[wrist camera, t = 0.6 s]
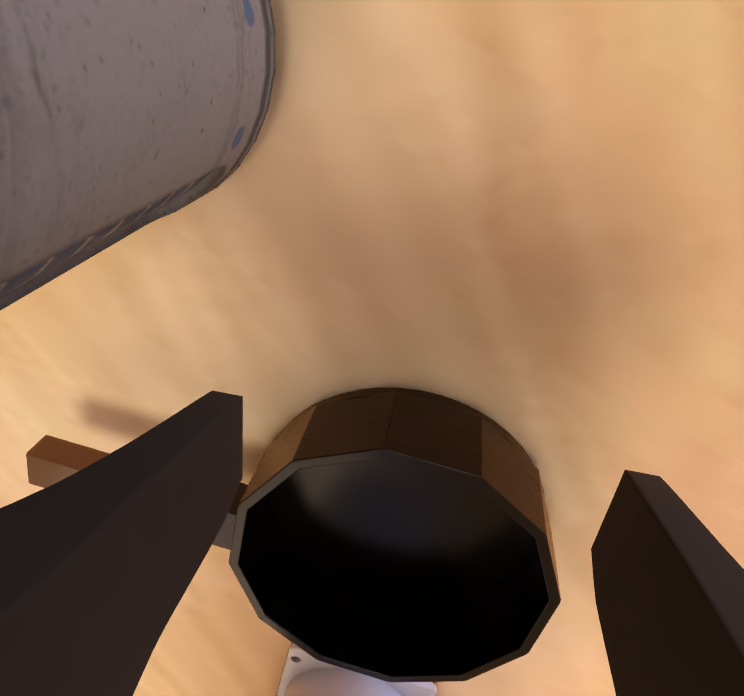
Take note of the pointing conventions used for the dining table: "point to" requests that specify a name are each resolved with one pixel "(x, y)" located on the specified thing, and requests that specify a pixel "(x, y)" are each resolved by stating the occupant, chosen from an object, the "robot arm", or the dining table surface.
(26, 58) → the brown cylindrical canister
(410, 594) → the skillet
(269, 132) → the dining table surface
